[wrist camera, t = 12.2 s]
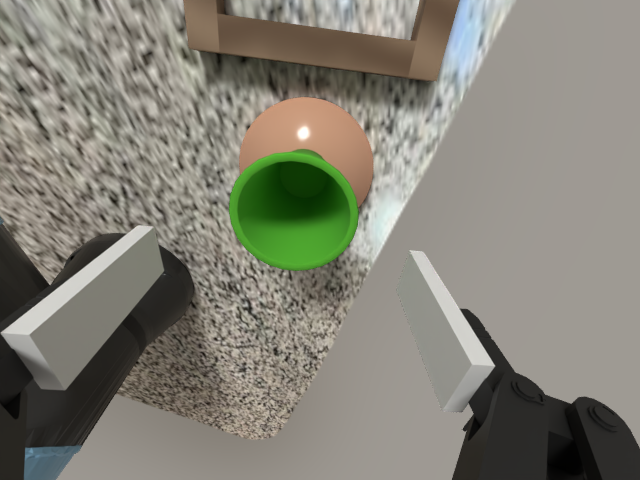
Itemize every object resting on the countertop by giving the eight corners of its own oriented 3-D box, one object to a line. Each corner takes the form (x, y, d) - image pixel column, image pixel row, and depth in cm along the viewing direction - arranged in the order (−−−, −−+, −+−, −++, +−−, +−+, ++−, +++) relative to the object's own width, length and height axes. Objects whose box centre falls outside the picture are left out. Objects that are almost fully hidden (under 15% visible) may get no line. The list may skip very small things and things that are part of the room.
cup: (349, 208, 30) (361, 266, 20) (270, 216, 30) (246, 275, 21) (344, 122, 25) (356, 145, 16) (252, 133, 26) (210, 161, 16)
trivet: (358, 232, 33) (359, 236, 32) (244, 220, 32) (241, 225, 31) (385, 106, 26) (387, 107, 25) (239, 88, 25) (235, 88, 24)
